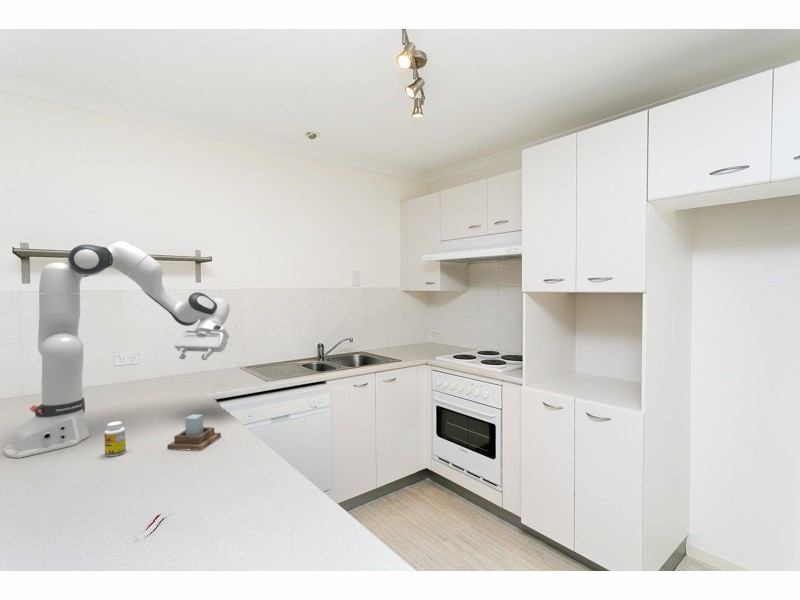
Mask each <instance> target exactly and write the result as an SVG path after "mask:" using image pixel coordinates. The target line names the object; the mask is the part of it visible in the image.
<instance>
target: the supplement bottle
mask: <svg viewBox="0 0 800 600" xmlns="http://www.w3.org/2000/svg"><path fill="white" fill-rule="evenodd" d="M103 434H104V455H105V456H106V457H110V456H111V457H116V455H117V456H120V455H123V454H124V453H125V452H126V449H127V448H126V445H127V444H126V442H127V441H126V428H125V427H124V426H123V422H122V421H121V420H120V421H119V420H118V421H111V422H109V423H107V424H106V430H105V431H104V433H103ZM119 454H120V455H119Z"/></svg>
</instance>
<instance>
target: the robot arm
mask: <svg viewBox="0 0 800 600" xmlns="http://www.w3.org/2000/svg"><path fill="white" fill-rule="evenodd" d="M106 269H114V270H116V271H118V272H120V273H122V274H123V275H124V276H126V277H128V278H129V279H131V280H132V281H133V282H135V283H136V284H137V285H138V287H140V289H141V290H142V291H143V292H144V293H145V295H146V296H148V297H149V298H150V299H151V300H153V301H154V302H156V303H157V304H158V305H159V306H161V308H162V309H164V310H165V311H167V312H168V313H169V314H170V315H171V316H172V318H173V319H174V321H175V322H177V323H178V324H180V325H181V326H186V327H189V326H193V325H196V323H197V322H198V321H199V323H198V325H197V326H196V328H195V330H186V331H185V332H183V333H182V334H180V335H179V336H178V338H177V339H176V341H175V342H174V344H173V346H174V348H175V349H176V350H177V351H178V352H180V354H179V356H178V358H179V360H185V359H186V357H187V355H186V353H187V352H201V353H202V352H204V353H203V354H202V355H201V359H202V361H207V360H208V359H209V357H210V356H212V355H213V354H214V353H222V352H223V351H224V350H225V349H226V347H227V344H228V339H230V335H229V332H228V331H227V329H225V327H224V326H223V325H224V324H225V323H226V321H227V318H228V317H229V314H230V309H231V308H230V304H229V302H228V301H226V300H225V299H224V298H221V297H216V298H215V297H211V296H208V295H207V294H205V293H202V292H200V291H199V292H193V293H191V294H190V295H189V296H188V297H186V298H184V299H185V300H183V301H181V300H179V299H178V298H176V297H175V296H174V295H173V294H171V292H169V290H167V289H166V288H165V287H164V285H163V273H164V272H163V267H162V266H161V264H160V263H159V262H158V261H157V259H155V258H153V257H152V256H151V255H149V254H148V253H146V252H144V250H142V249H140V248H138V247H137V246H134V245H132V244H130V243H128V242H127V241H124V240H121V241H120V240H119V241H116V242H113V243H112V244H110V245H109V246H108V247H105V246H104V247H103V246H100V245H99V246H98V245H94V244H80V245H79V244H78V245H77V246H74V247H73V248H72V249H71V250H70V251H69V253H68V256H67V260H65V261H63V262H61V261H60V262H52V263H51V262H50V263H47V264H46V265H44V267H43V268H42V269H41V273H40V278H39V285H38V287H39V288H38V293H39V294H38V298H39V299H38V301H39V302H38V306H39V308H38V309H39V311H38V312H39V313H38V315H39V316H38V317H39V319H38V333H37V350H38V353H39V354H40V356H41V365H42V366H41V381H40V383H41V401H42V402H41V404H39V405H35V404H34V405H31V406H30V407H29V409H30V411H31V412H32V413H34V417H32V418H31V419H30V420H29V421H27V422H26V423H25V424H24V425H22V426H20V427H19V428H18V429H17V430H16V431H15V433H14V436H13V440H12V441H13V442H12V444H10V445H7V446H6V447H5V448H4V450H3V454H4V455H5V456H6V457H8V458H13V459H14V458H15V459H19V458H20V459H21V458H25V457H29V456H34V455H38V454H43V453H45V452H50V451H51V452H52V451H55V450H58V449H59V450H60V449H63V448H68V447H72V446H73V447H74V446H76V445H78V444H79V443H80V442H81V441H83V440H86V439H87V438H88V437H90V434H91V433H90V431H89V429H88V426H87V422H86V418H85V412H86V411H85V409H86V403H85V397H83V395H84V394H83V393H84V392H83V367H84V344H83V343H84V342H82V340H81V339H80V338H79V337H78V336H79V323H80V317H81V290H80V287H81V286H80V285H81V281H82V279H83V278H87V277H92V276H96V275H99V274H102V273H103V272H104V271H106ZM205 352H206V353H205Z"/></svg>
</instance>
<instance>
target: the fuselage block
mask: <svg viewBox="0 0 800 600" xmlns="http://www.w3.org/2000/svg"><path fill="white" fill-rule="evenodd" d="M184 423H185V424H184V425H185V426H184V427H185V428H184V431H186V436H199V435H201V434H202V433H203V427H204V415H203V414H191V415H189V416H187V417H185V418H184Z"/></svg>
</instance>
